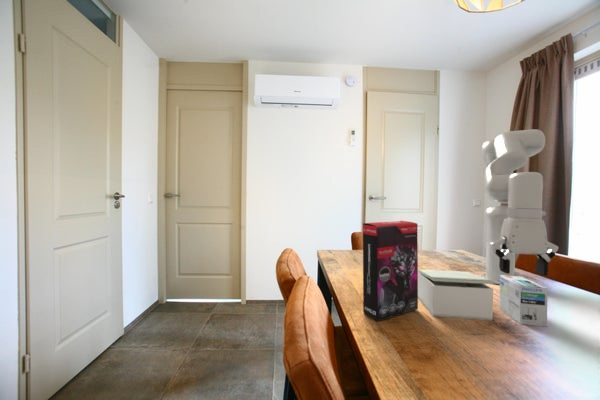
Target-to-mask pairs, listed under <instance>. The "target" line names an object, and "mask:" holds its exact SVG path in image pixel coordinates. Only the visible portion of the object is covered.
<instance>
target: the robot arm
mask: <svg viewBox="0 0 600 400" xmlns="http://www.w3.org/2000/svg"><path fill="white" fill-rule="evenodd" d="M545 145H546V136H545V134H544V132H543V131H542V130H540V129H538V128H537V129H534V128H533V129H531V128H530V129H523V130H510V131H506V132H504V131H503V132H502V133H500V134H498V135H497V136H495V138H494V139H489V140H486V141H485V142H484V143H483V144H482V147H481V157H482V160H483V162H484V166H485V167H486V168H485V171H484V175H483V176H484V177H483V181H484V188H485V189H484V190H485V193H486V194H487V195H488V197H489V200H490V201H491V202H493V203H494V204H495V203H496V204H507V205H493V206H490V207H487V208H486V209H485V211H484V223H485V228H486V229H485V230H486V242H485V243H486V244H485V245H486V250H485V273H482V274H481V275H480V277H483V278H486V279H488V280H492V281H493V285H494V284H496V285H499V286H500V275H506V276H519V277H524V278H526V279H528V278H529V275H528V274H527V273H519V272H516V271H515V270H516V268H515V267H516V264H515V263H516V254H517V255H532V256H533V255H535V256H536V257H537V258H538V259H536V261H535V272H536V274H539V275H542V276H545V277H546V276H548V271H549V270H548V269H549V262H551V261H552V258H554V257H555V256H556V253H557V252H558V250H559V246H558V245H556V244H554V243H552V242H550V241H548V235H547V228H546V227H547V226H546V223H545V220H543V217H546V215H547V212H546V211H543V190H544V178H543V175H542V173H540V172H537V171H523V172H520V171H519V172H515V173H514V171H516V170H519V169H521V168H523V167H524V166H525V165H526V164H527V163H528V160H529V158H530V157H534V156H535V155H537V154H539V153H541V152H542V151H543V150H544V148H545ZM528 280H529V279H528Z"/></svg>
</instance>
